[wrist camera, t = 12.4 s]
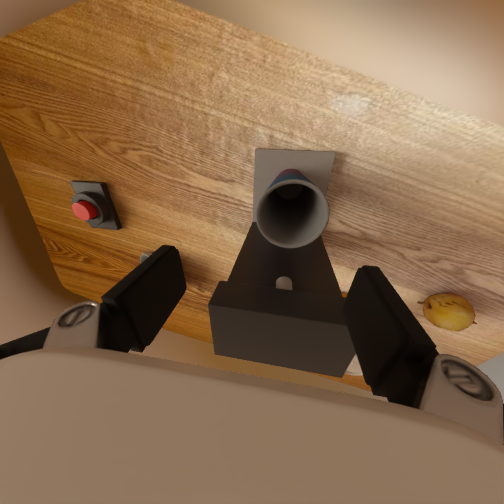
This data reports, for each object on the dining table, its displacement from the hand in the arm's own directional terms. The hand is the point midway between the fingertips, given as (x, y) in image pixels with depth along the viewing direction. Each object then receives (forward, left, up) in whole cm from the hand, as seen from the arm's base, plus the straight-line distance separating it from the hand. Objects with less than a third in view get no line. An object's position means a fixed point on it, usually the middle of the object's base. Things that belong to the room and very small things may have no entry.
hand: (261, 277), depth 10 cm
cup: (0, +2, -24) cm, 24 cm away
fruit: (+21, +35, -26) cm, 48 cm away
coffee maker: (+3, +2, -26) cm, 26 cm away
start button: (+7, -38, -23) cm, 45 cm away
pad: (+7, -38, -26) cm, 47 cm away
